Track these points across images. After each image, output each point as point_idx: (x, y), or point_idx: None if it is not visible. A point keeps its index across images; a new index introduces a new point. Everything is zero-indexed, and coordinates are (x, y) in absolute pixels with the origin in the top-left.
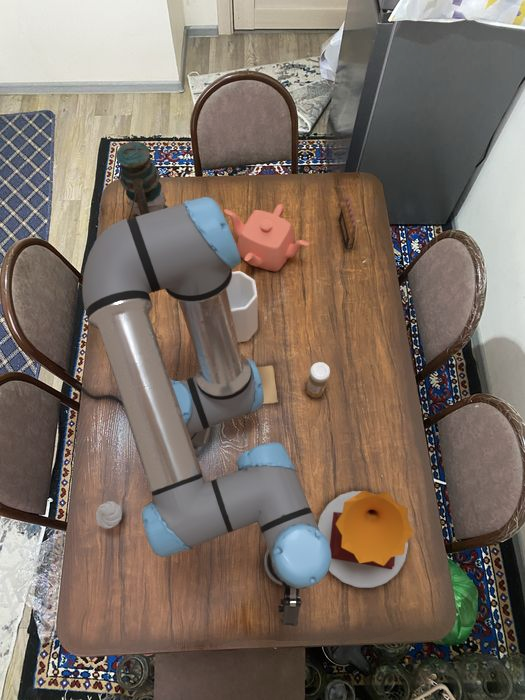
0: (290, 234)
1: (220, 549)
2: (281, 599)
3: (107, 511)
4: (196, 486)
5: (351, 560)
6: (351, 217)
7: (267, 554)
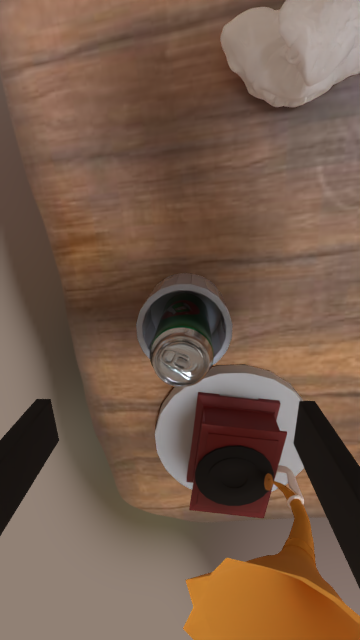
0: None
1: (202, 172)
2: (9, 450)
3: None
4: None
5: (195, 430)
6: None
7: (196, 290)
